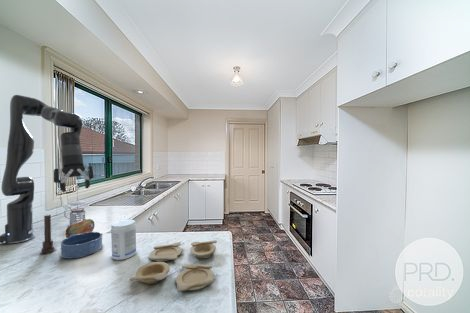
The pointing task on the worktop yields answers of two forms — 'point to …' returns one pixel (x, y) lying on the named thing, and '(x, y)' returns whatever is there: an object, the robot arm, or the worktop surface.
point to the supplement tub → (123, 239)
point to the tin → (80, 227)
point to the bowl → (81, 244)
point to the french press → (76, 211)
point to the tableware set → (188, 278)
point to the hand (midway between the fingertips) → (75, 189)
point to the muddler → (47, 236)
